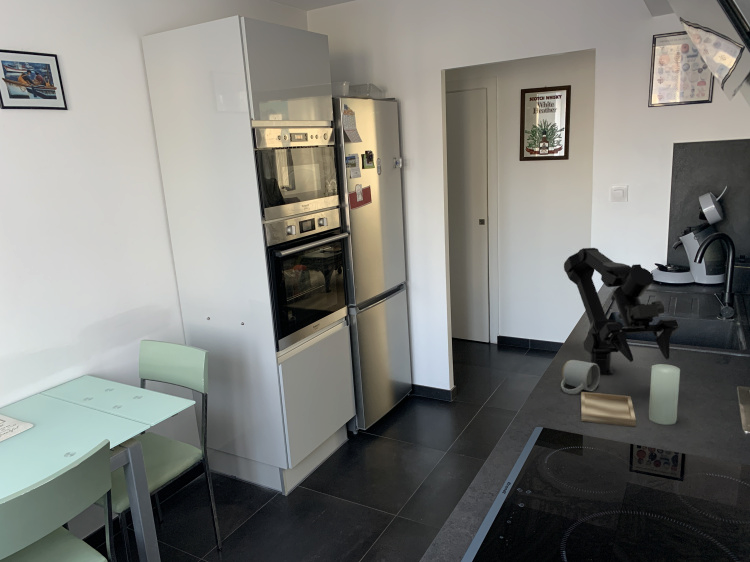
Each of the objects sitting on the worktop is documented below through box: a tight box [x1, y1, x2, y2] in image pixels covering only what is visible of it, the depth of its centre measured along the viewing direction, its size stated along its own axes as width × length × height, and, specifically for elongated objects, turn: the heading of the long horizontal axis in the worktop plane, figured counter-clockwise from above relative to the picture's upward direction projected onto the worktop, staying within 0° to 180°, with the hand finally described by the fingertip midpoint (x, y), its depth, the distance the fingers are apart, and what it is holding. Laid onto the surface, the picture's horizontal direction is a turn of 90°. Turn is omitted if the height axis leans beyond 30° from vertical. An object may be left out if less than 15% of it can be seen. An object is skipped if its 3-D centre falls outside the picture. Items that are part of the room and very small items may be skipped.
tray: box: [580, 391, 637, 428], centre depth 141 cm, size 14×12×2 cm
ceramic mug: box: [560, 359, 601, 395], centre depth 155 cm, size 11×8×8 cm
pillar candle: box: [648, 363, 681, 426], centre depth 135 cm, size 6×6×13 cm
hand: (650, 360), depth 140 cm, fingers open, 9 cm apart
